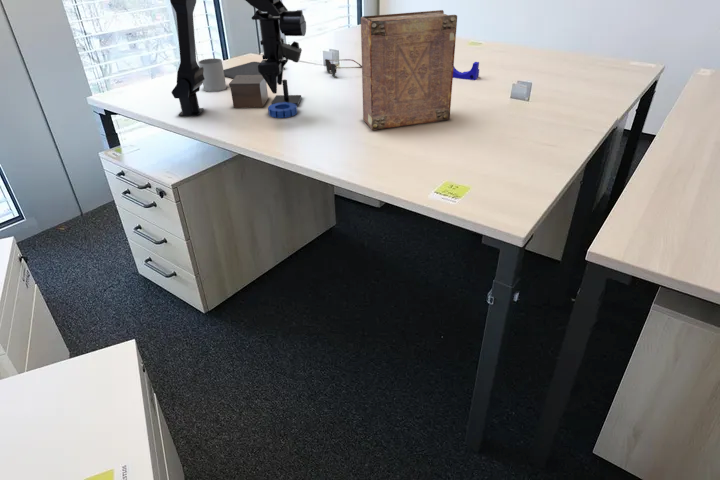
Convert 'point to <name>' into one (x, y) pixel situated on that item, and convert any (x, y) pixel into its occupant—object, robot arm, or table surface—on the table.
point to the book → (407, 68)
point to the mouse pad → (243, 70)
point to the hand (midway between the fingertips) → (277, 88)
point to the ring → (282, 110)
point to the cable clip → (468, 73)
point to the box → (248, 91)
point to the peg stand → (287, 96)
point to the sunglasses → (334, 67)
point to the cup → (213, 75)
